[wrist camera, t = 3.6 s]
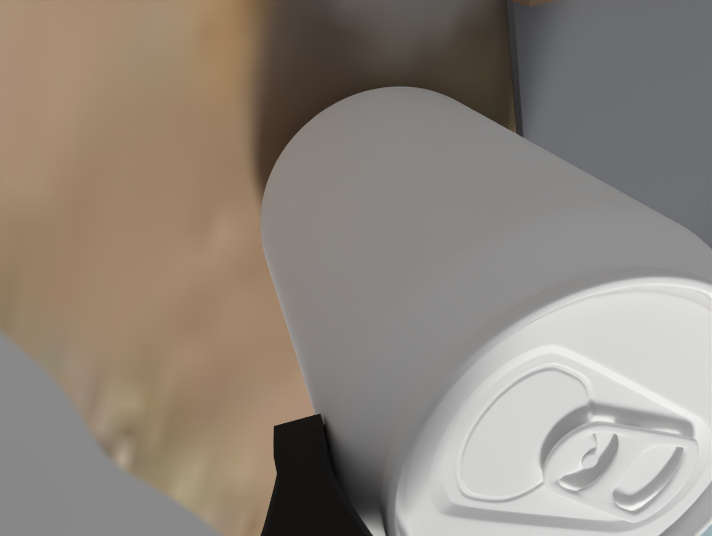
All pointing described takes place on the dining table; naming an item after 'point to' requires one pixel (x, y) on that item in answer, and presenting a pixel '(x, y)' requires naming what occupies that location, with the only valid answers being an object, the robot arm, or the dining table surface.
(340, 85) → the dining table surface
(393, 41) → the dining table surface
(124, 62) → the dining table surface
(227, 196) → the dining table surface
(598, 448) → the beverage can
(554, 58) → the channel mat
